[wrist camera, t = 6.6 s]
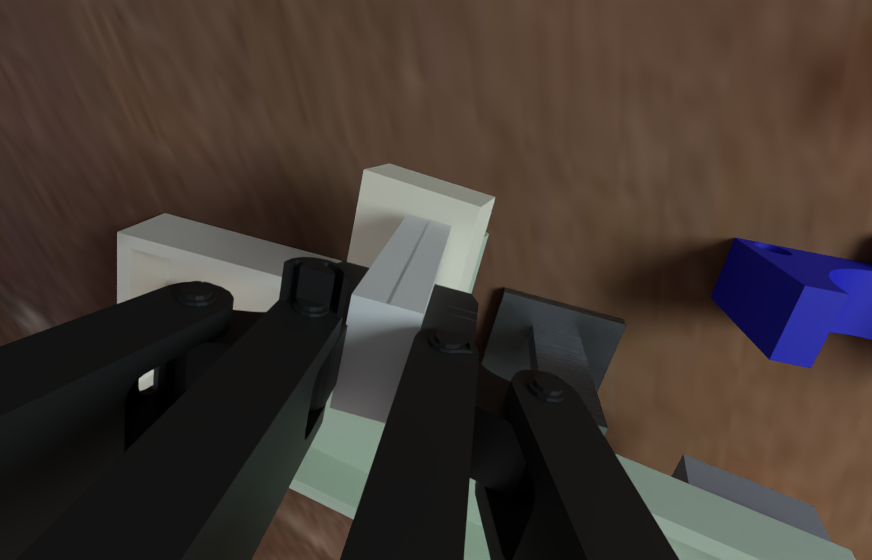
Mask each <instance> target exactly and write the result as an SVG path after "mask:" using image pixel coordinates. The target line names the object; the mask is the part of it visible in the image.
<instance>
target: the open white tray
mask: <svg viewBox="0 0 872 560" xmlns="http://www.w3.org/2000/svg"><path fill="white" fill-rule="evenodd" d="M298 257H315V258H321V259H326V260H329V261H332V262H335V263H339V262H342V261H340V260H337V259H333V258H329V257H325V256H322V255H318V254H314V253H311V252H307V251H303V250H300V249H296V248H292V247H289V246H285V245H281V244H277V243H274V242H270V241H266V240H263V239H259V238H255V237H252V236H248V235H244V234H241V233H237V232H233V231H229V230H226V229H222V228H218V227H215V226H211V225H207V224H204V223H200V222H196V221H193V220H189V219H185V218H181V217H178V216H174V215H170V214H167V213H164V214H161V215H159V216H156V217H154V218H151V219H149V220H146V221H144V222H141V223H139V224H136V225H134V226H131V227H129V228H126V229H124V230H121V231H119V232H117V304H118V303H121V302H124V301H127V300H129V299H132V298H135V297H138V296H140V295H143V294H146V293H149V292H151V291H154V290H157V289H159V288H162V287H165V286H168V285H171V284H176V283H180V282H192V281H202V282H209V283H212V284H214V285H217V286H221V287H223V288H225V289H226V290H228V291H230V292H231V294H232V295H233V297H234V303H233V310H242V311H252V312H267V311H268V310H269V309H270V308H271V307H272V306H273V305H274V304H275V303H276V302H277V301H278V300H279V295H280V288H281V280H282V273H283V265H284V262H285V261H287V260H289V259H291V258H298ZM153 376H154V369H153V370H151V371H149V372H148V373H146V374H144V375H143V376H142V377H140V378H139V390H140V391H141V390H145V389H147V388H148V387H150V386H152V385H153ZM310 447H311V445H310ZM310 447H309V448H310Z"/></svg>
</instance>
